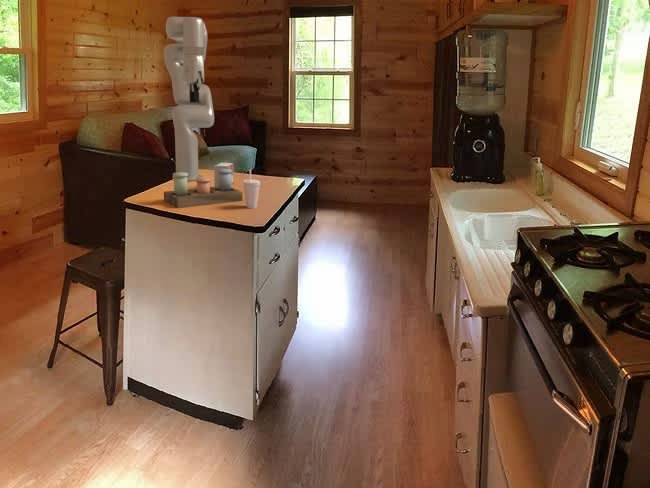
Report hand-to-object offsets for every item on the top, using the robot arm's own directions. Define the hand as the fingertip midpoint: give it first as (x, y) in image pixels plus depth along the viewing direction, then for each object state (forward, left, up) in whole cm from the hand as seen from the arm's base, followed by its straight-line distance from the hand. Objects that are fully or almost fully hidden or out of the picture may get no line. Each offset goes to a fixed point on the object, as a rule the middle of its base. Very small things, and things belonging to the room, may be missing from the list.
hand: (194, 102), depth 239 cm
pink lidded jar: (+15, -4, -34) cm, 38 cm away
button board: (+15, -4, -35) cm, 38 cm away
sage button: (+15, -13, -32) cm, 38 cm away
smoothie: (+32, +7, -35) cm, 48 cm away
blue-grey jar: (+15, +5, -32) cm, 36 cm away
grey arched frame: (+1, +12, -35) cm, 37 cm away
